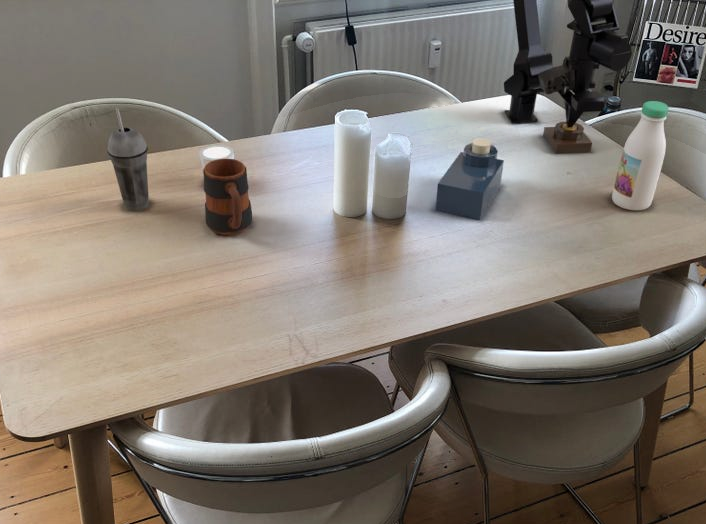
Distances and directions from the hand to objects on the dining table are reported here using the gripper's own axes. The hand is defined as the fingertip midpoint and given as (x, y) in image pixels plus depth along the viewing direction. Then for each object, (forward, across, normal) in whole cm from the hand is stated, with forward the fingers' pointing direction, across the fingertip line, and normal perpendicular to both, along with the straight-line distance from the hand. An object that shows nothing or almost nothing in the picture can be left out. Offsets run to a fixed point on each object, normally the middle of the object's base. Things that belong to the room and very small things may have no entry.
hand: (569, 126), depth 183 cm
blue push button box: (+4, +22, -28) cm, 36 cm away
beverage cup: (+4, +18, -93) cm, 95 cm away
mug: (+4, +29, -75) cm, 81 cm away
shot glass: (+4, +11, -77) cm, 78 cm away
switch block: (+4, 0, 0) cm, 4 cm away
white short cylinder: (-3, +17, -25) cm, 31 cm away
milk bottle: (+4, +27, +4) cm, 28 cm away
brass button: (+2, 0, 0) cm, 2 cm away
